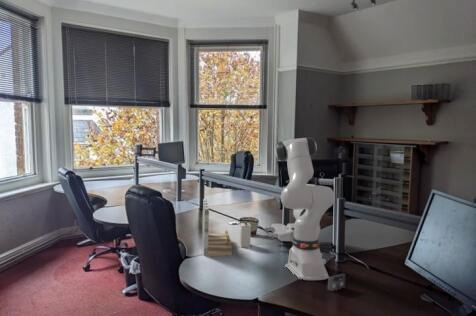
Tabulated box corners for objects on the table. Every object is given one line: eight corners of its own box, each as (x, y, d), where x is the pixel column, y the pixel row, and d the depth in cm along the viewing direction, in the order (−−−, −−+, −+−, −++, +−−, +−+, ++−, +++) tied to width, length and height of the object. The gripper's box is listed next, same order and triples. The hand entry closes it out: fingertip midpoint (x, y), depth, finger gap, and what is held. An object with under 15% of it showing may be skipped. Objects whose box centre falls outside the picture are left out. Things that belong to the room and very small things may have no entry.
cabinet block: (250, 247, 200) (250, 223, 199) (241, 247, 200) (241, 223, 199) (248, 244, 205) (249, 220, 204) (239, 244, 205) (240, 220, 203)
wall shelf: (231, 255, 188) (232, 209, 185) (203, 255, 186) (204, 209, 183) (226, 240, 211) (227, 199, 209) (202, 240, 209) (203, 199, 207)
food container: (260, 233, 225) (261, 217, 224) (258, 236, 220) (259, 220, 219) (241, 231, 229) (241, 215, 228) (238, 234, 223) (239, 218, 222)
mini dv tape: (342, 286, 155) (343, 273, 154) (344, 288, 154) (345, 274, 153) (327, 290, 151) (328, 276, 150) (329, 292, 150) (330, 277, 149)
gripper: (286, 220, 215) (263, 221, 214) (296, 231, 195) (271, 231, 193) (286, 231, 216) (262, 231, 214) (296, 243, 196) (270, 243, 194)
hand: (266, 231), depth 204 cm, fingers open, 8 cm apart
